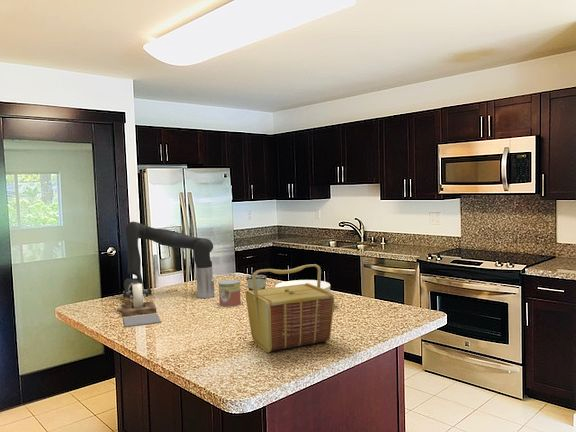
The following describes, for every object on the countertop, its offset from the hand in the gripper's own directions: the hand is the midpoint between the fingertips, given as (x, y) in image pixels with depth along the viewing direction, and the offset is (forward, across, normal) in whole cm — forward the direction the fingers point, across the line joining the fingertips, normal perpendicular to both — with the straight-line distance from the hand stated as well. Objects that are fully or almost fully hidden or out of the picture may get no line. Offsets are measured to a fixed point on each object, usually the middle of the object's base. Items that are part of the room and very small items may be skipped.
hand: (138, 295), depth 242 cm
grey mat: (+18, 0, +8) cm, 20 cm away
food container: (-13, +68, +9) cm, 70 cm away
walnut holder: (-2, 0, +8) cm, 9 cm away
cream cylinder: (-2, 0, +8) cm, 9 cm away
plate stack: (+32, +78, +9) cm, 85 cm away
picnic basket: (+80, +51, +9) cm, 95 cm away
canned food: (+7, +46, +9) cm, 47 cm away
